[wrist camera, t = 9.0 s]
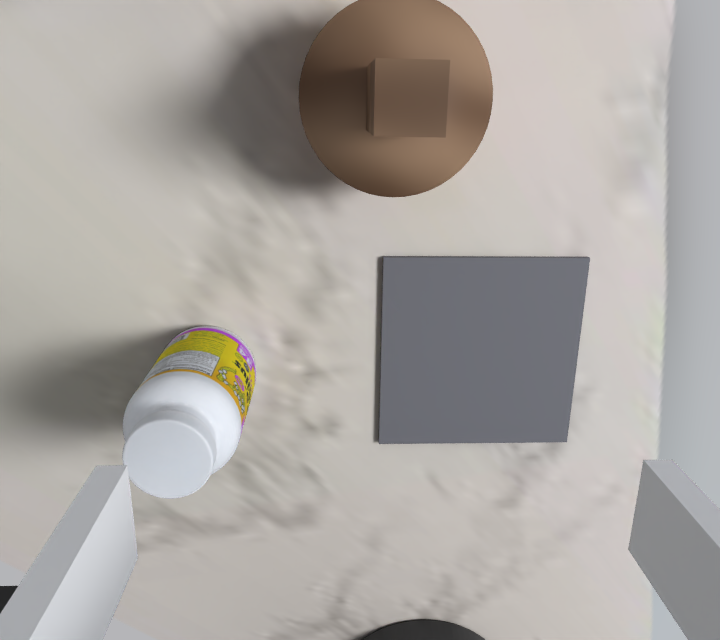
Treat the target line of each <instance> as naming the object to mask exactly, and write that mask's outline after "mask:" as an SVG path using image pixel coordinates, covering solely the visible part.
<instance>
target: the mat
mask: <svg viewBox="0 0 720 640" xmlns="http://www.w3.org/2000/svg"><path fill="white" fill-rule="evenodd" d="M589 262H590V258H589V257H473V256H383V285H382V327H381V368H380V410H379V444H416V443H525V442H567V436H568V428H569V420H570V412H571V404H572V396H573V389H574V381H575V373H576V365H577V357H578V349H579V341H580V333H581V325H582V318H583V310H584V302H585V294H586V286H587V278H588V270H589Z"/></svg>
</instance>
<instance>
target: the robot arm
mask: <svg viewBox="0 0 720 640" xmlns="http://www.w3.org/2000/svg"><path fill="white" fill-rule="evenodd" d="M628 550H629V551H630V553H631V554H632V556H633V557H634V559H635V560H636V562H637V563H638V565H639V566H640V568H641V569H642V571H643V572H644V574H645V575H646V577H647V578H648V580H649V581H650V583H651V585H652V586H653V588H654V589H655V590H656V592H657V594H658V595H659V597H660V598H661V600H662V601H663V602H664V604H665V605H666V607H667V609H668V610H669V612H670V613H671V615H672V616H673V618H674V619H675V621H676V622H677V624H678V625H679V627H680V628H681V630H682V631H683V633H684V634H685V636H686V637H687V639H688V640H720V509H719V508H718V507H717V506H716V505H715V504H714V503H713V502H712V501H711V500H710V499H709V497H708V496H707V495H706V494H705V493H704V492H703V491H702V490H701V489H700V488H699V487H698V486H697V485H696V484H695V483H694V482H693V481H692V480H691V479H690V478H689V477H688V475H687V474H686V473H685V472H684V471H683V470H682V469H681V468H680V467H679V466H678V465H677V464H676V463H675V462H674V461H673V460H643V466H642V472H641V478H640V484H639V490H638V496H637V501H636V507H635V513H634V519H633V525H632V531H631V537H630V543H629V548H628ZM137 559H138V553H137V544H136V536H135V527H134V518H133V509H132V501H131V492H130V483H129V474H128V466H127V465H114V466H96V467H95V468H94V470H93V471H92V473H91V475H90V476H89V478H88V479H87V481H86V482H85V484H84V485H83V487H82V488H81V490H80V492H79V493H78V495H77V496H76V498H75V499H74V501H73V502H72V504H71V505H70V507H69V509H68V510H67V512H66V513H65V515H64V516H63V518H62V519H61V521H60V522H59V524H58V526H57V527H56V529H55V530H54V532H53V533H52V535H51V536H50V538H49V539H48V541H47V542H46V544H45V546H44V547H43V549H42V550H41V552H40V553H39V555H38V556H37V558H36V559H35V561H34V563H33V564H32V566H31V567H30V569H29V570H28V572H27V573H26V575H25V576H24V578H23V580H22V581H21V583H20V584H19V586H0V640H103V638H104V636H105V634H106V631H107V629H108V627H109V624H110V622H111V620H112V617H113V615H114V613H115V610H116V608H117V606H118V603H119V601H120V599H121V596H122V594H123V592H124V589H125V587H126V584H127V582H128V580H129V577H130V575H131V573H132V570H133V568H134V566H135V563H136V561H137ZM363 640H485V639H484V638H482V637H481V636H480V635H478V634H476V633H475V632H473V631H471V630H469V629H467V628H464V627H462V626H459V625H456V624H452V623H448V622H443V621H434V620H417V621H408V622H403V623H398V624H394V625H391V626H388V627H385V628H383V629H380V630H378V631H376V632H374V633H372V634H370V635H369V636H367V637H365V638H364V639H363Z"/></svg>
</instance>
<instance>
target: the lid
mask: <svg viewBox="0 0 720 640" xmlns="http://www.w3.org/2000/svg"><path fill="white" fill-rule="evenodd" d="M492 101H493V85H492V76H491V71H490V67H489V62H488V59H487V57H486V54H485V51H484V49H483V47H482V45H481V43H480V41H479V39H478V37H477V36H476V34H475V33H474V32H473V30H472V29H471V28H470V26H469V25H468V24H467V23H466V22H465V21H464V20H463V19H462V18H461V17H460V16H459V15H458V14H457V13H456V12H454V11H453V10H452V9H451V8H449V7H447V6H446V5H444V4H442V3H441V2H439V1H437V0H358V1H356V2H354V3H352V4H350V5H349V6H347V7H346V8H344V9H343V10H341V11H340V12H339V13H337V14H336V15H335V16H334V17H333V18H332V19H331V20H330V21H329V22H328V23H327V24H326V25H325V26H324V28H323V29H322V30H321V31H320V32H319V34H318V35H317V37H316V39H315V40H314V42H313V43H312V45H311V47H310V50H309V52H308V54H307V56H306V59H305V62H304V65H303V68H302V73H301V78H300V84H299V107H300V114H301V119H302V124H303V127H304V130H305V133H306V136H307V138H308V140H309V142H310V144H311V147H312V148H313V150H314V152H315V153H316V155H317V156H318V158H319V159H320V160H321V162H322V163H323V164H324V165H325V166H326V167H327V169H328V170H330V171H331V172H332V173H333V174H334V175H335V176H336V177H337V178H339V179H340V180H342V181H343V182H345V183H346V184H348V185H350V186H352V187H354V188H356V189H357V190H360V191H363V192H366V193H369V194H373V195H377V196H384V197H405V196H411V195H416V194H420V193H423V192H426V191H429V190H431V189H433V188H435V187H437V186H439V185H441V184H442V183H444V182H446V181H447V180H449V179H450V178H451V177H453V176H454V175H455V174H456V173H457V172H459V171H460V170H461V169H462V168H463V167H464V165H465V164H466V163H467V162H468V161H469V160H470V158H471V157H472V156H473V154H474V153H475V152H476V150H477V148H478V146H479V145H480V143H481V141H482V139H483V137H484V134H485V132H486V129H487V126H488V123H489V119H490V115H491V109H492Z"/></svg>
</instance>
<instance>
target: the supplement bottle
mask: <svg viewBox="0 0 720 640" xmlns="http://www.w3.org/2000/svg"><path fill="white" fill-rule="evenodd" d="M255 381H256V364H255V360H254V357H253V355H252V353H251V351H250V349H249V348H248V346H247V345H246V344H245V343H244V342H243V341H242V340H241V339H240V338H239V337H238V336H237V335H235V334H234V333H232V332H230V331H228V330H226V329H223V328H219V327H215V326H200V327H194V328H191V329H188V330H186V331H183V332H182V333H180V334H179V335H177V336H176V337H175V338H174V339H173V340H172V341H171V342H170V343H169V344H168V345H167V347H166V348H165V349H164V351H163V352H162V354H161V355H160V357H159V358H158V360H157V361H156V363H155V364H154V366H153V367H152V368H151V370H150V371H149V373H148V374H147V376H146V377H145V379H144V380H143V382H142V383H141V385H140V386H139V387H138V389H137V390H136V392H135V393H134V395H133V396H132V398H131V399H130V401H129V403H128V405H127V407H126V410H125V413H124V418H123V435H124V439H125V445H124V448H123V455H122V459H123V465H127V466H128V474H129V478H130V480H131V481H132V482H133V483H134V484H135V485H136V486H137V487H138V488H139V489H141V490H142V491H144V492H146V493H148V494H150V495H152V496H155V497H160V498H167V499H173V498H180V497H184V496H187V495H190V494H192V493H194V492H196V491H197V490H199V489H200V488H201V487H202V486H203V485H204V484H205V483H206V481H207V480H208V478H209V477H210V475H211V474H213V473H215V472H217V471H218V470H219V469H221V468H222V467H223V466H224V465H225V464H226V463H227V462H228V461H229V460H230V458H231V457H232V456H233V454H234V452H235V450H236V448H237V446H238V443H239V439H240V436H241V432H242V428H243V425H244V421H245V418H246V415H247V411H248V407H249V404H250V400H251V397H252V393H253V389H254V386H255Z"/></svg>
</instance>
